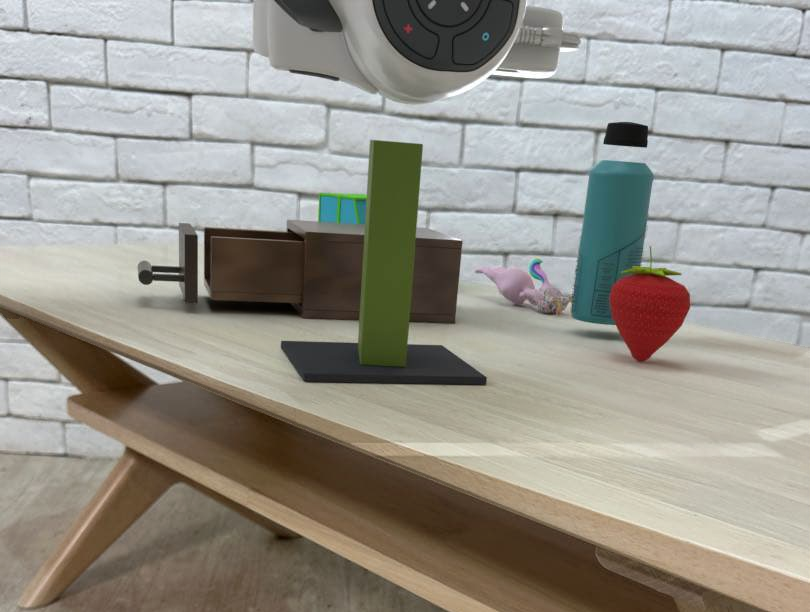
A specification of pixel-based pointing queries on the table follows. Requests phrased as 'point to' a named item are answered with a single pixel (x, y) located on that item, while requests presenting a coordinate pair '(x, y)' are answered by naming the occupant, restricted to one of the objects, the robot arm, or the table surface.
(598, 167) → the beverage bottle
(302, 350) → the mat
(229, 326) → the table surface
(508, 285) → the pink elongated figure
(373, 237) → the tall olive green pillar
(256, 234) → the drawer
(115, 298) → the table surface
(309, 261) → the cabinet
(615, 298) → the strawberry
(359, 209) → the blue green-edged box
